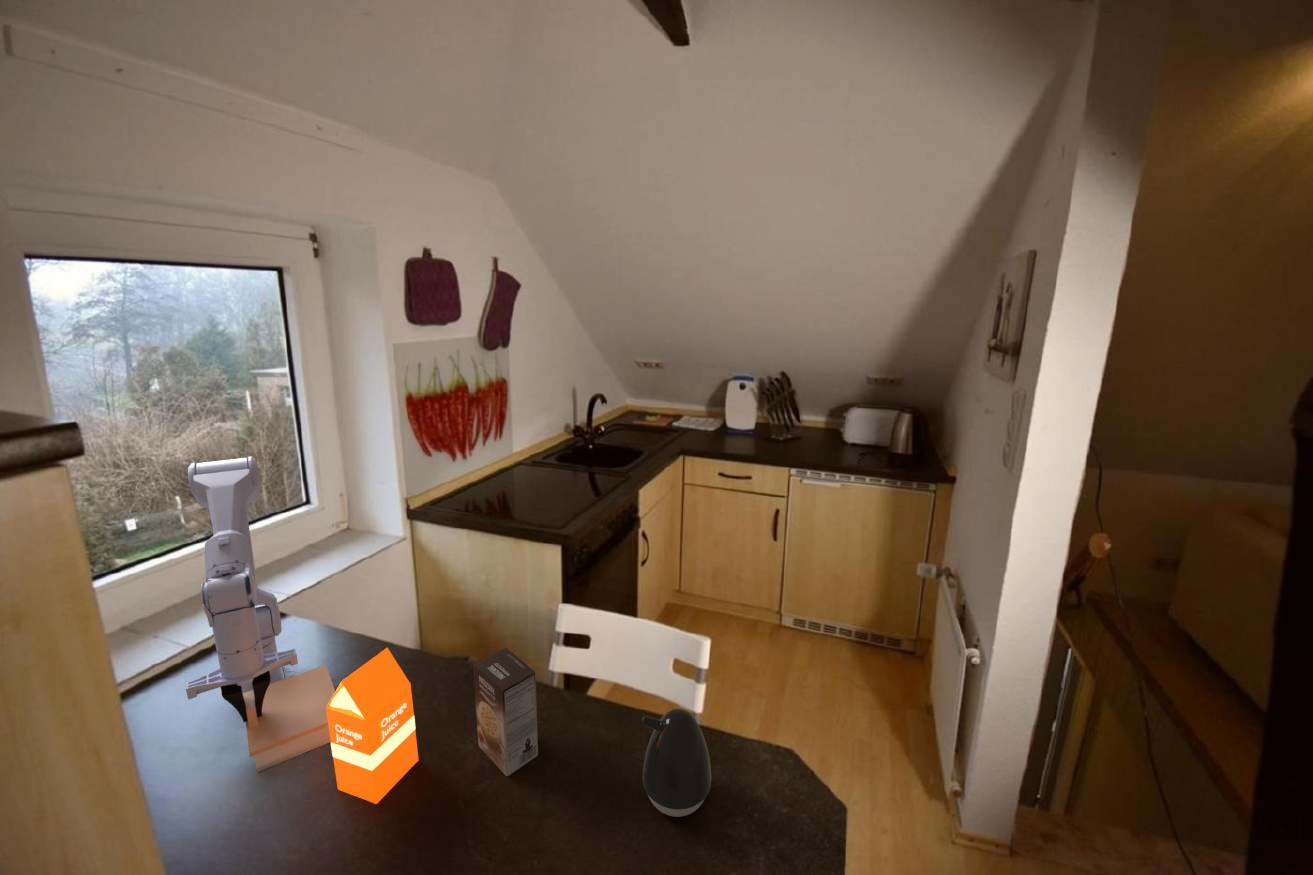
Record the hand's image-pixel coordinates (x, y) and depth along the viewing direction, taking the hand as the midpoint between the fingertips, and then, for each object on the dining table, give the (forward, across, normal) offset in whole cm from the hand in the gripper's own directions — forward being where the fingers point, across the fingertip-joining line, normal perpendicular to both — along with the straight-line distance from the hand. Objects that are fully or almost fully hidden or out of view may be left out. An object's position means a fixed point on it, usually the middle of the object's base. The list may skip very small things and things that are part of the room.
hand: (252, 715), depth 93 cm
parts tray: (+5, +6, 0) cm, 7 cm away
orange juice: (+5, +14, -20) cm, 25 cm away
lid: (+1, +6, 0) cm, 6 cm away
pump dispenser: (+5, +48, -52) cm, 71 cm away
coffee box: (+5, +32, -28) cm, 43 cm away
